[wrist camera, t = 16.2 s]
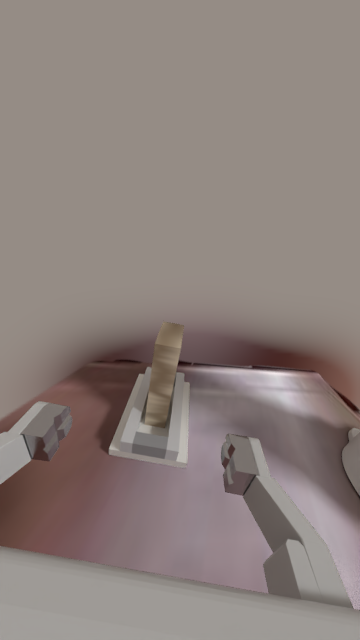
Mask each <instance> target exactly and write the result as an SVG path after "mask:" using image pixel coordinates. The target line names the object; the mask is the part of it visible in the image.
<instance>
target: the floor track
mask: <svg viewBox="0 0 360 640" xmlns="http://www.w3.org/2000/svg"><path fill="white" fill-rule="evenodd" d="M151 370H152V368H151V367H147V369H146V372H145V374H139V375H138V378H137V380H136V383H135V385H134V388H133V390H132V393H131V395H130V398H129V400H128V403H127V405H126V408H125V410H124V413H123V415H122V418H121V420H120V423H119V425H118V428H117V430H116V433H115V435H114V437H113V440H112V442H111V445H110V447H109V455H113V456H119V457H124V458H130V459H136V460H141V461H147V462H152V463H158V464H163V465H169V466H175V467H180V468H186V465H187V454H188V423H189V392H190V383H188V382H184V373H179V372H176V375H175V380H174V385H173V390H172V395H171V400H170V405H169V410H168V415H167V420H166V425H165V428H160V427H155V426H150V425H144V424H145V416H146V409H147V401H148V393H149V385H150V377H151Z"/></svg>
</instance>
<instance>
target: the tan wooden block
mask: <svg viewBox="0 0 360 640" xmlns="http://www.w3.org/2000/svg"><path fill="white" fill-rule="evenodd" d="M183 329H184V326H183V325H179V324H174V323H168V322H163V324H162V326H161V329H160V332H159V334H158V337H157V340H156V342H155V347H154V355H153V362H152V370H151V377H150V385H149V393H148V401H147V409H146V416H145V424H144V425H150V426H155V427H160V428H165V425H166V420H167V415H168V410H169V405H170V400H171V395H172V390H173V385H174V380H175V375H176V370H177V365H178V360H179V355H180V350H181V344H182V336H183Z"/></svg>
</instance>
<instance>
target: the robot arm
mask: <svg viewBox="0 0 360 640" xmlns="http://www.w3.org/2000/svg"><path fill="white" fill-rule="evenodd" d="M70 412H71V410H70V407H68V406H63V405H57V404H52V403H47V402H41V401H39V402H37V403H35V404H34V405H33V406H32V407H31V408H30V409H29V410H28V411H27V413H26V414H25V415H24V416H23V417H22V418H21V419H20V420H19V421H18V422H17V423H16V424H15V425H14V426H13V427H12V428H11V429H10V430H9V431H8V432H3V433H1V434H0V484H1V483H3V482H4V481H5V480H6V479H8V478H9V477H10V476H12V475H13V474H14V473H15V472H17V471H18V470H19V469H21V468H22V467H23V466H24V465H26V464H27V463H28V462H30V461H31V459H35V460H43V461H50V460H51V458H52V457H53V455H54V454H55V452H56V451H57V449H58V448H59V441H60V440H62V439H63V438H65V437H66V435H67V434H68V432H69V430H70V427H71V425H72V417H71V416H70V415H69V413H70ZM348 437H349V443H348V444H347V445H346V446H345V447H344V449H343V452H342V461H343V465H344V468H345V471H346V473H347V475H348V477H349V479H350V481H351V483H352V485H353V486H354V488H355V490H356V491H357V493H358V494H359V495H360V429H356V428H353V429H351V430H350V431H349V432H348ZM221 461H222V465H223V467H224V468H225V472H224V474H223V478H224V487H225V492H227V493H232V494H237V495H242V496H243V498H244V500H245V502H246V503H247V505H248V507H249V509H250V511H251V513H252V515H253V516H254V518H255V520H256V522H257V524H258V526H259V527H260V529H261V531H262V533H263V535H264V537H265V538H266V540H267V542H268V544H269V546H270V548H271V550H272V551H273V554H272V555H271V556H270V557H269V558H268V559H267V560H266V561H265V562H264V564H263V567H264V572H265V577H266V582H267V587H268V592H269V594H268V593H262V592H256V591H251V590H245V589H240V588H234V587H228V586H223V585H217V584H211V583H206V582H200V581H195V580H189V579H183V578H178V577H172V576H167V575H161V574H155V573H150V572H144V571H139V570H133V569H127V568H122V567H116V566H110V565H105V564H99V563H94V562H88V561H82V560H77V559H71V558H66V557H60V556H54V555H49V554H43V553H37V552H32V551H26V550H21V549H15V548H9V547H4V546H0V640H360V610H357V609H354V608H353V606H352V604H351V601H350V599H349V597H348V594H347V592H346V589H345V587H344V585H343V582H342V580H341V578H340V575H339V573H338V570H337V568H336V566H335V563H334V561H333V558H332V556H331V554H330V551H329V549H328V547H327V545H326V543H325V542H324V541H323V539H322V538H321V537H320V536H319V534H318V533H317V532H316V531H315V529H314V528H313V527H312V526H311V524H310V523H309V522H308V520H307V519H306V518H305V517H304V515H303V514H302V513H301V512H300V510H299V509H298V508H297V506H296V505H295V504H294V503H293V501H292V500H291V499H290V498H289V496H288V495H287V494H286V493H285V491H284V490H283V489H282V487H281V486H280V485H279V484H278V482H277V481H276V480H275V479H274V478H271V475H270V472H269V469H268V466H267V463H266V460H265V456H264V453H263V450H262V447H261V444H260V441H259V440H258V439H257V438H251V437H247V436H240V435H234V434H227V435H226V442H225V443H223V445H222V450H221Z"/></svg>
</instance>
